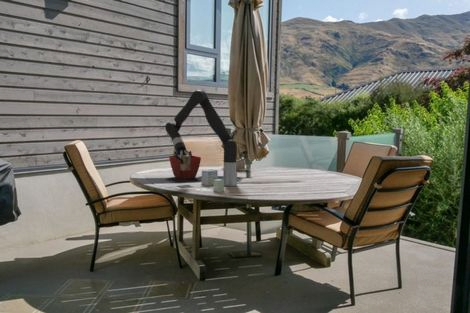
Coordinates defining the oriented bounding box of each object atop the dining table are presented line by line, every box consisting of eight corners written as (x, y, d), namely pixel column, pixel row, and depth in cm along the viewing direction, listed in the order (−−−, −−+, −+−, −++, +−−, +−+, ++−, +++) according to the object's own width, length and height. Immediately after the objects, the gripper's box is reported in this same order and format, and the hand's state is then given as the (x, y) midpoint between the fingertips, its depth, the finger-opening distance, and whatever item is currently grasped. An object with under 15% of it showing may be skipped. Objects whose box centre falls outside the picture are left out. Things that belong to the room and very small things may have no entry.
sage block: (218, 190, 292) (218, 178, 291) (223, 191, 289) (224, 179, 288) (213, 191, 288) (213, 179, 287) (218, 192, 285) (219, 180, 284)
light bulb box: (211, 183, 321) (211, 168, 320) (217, 184, 316) (218, 169, 315) (201, 184, 312) (201, 170, 311) (207, 186, 308) (208, 171, 307)
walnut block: (186, 169, 303) (186, 155, 302) (190, 170, 299) (190, 155, 298) (180, 169, 301) (180, 155, 299) (183, 170, 296) (183, 156, 295)
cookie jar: (249, 171, 387) (250, 135, 384) (222, 170, 387) (222, 135, 383) (248, 167, 412) (248, 134, 408) (222, 167, 411) (223, 133, 408)
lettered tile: (206, 188, 298) (206, 188, 297) (212, 190, 290) (212, 190, 290) (194, 189, 293) (194, 189, 293) (201, 192, 285) (201, 191, 285)
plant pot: (180, 180, 330) (180, 158, 328) (168, 176, 345) (168, 156, 343) (201, 178, 341) (201, 157, 339) (189, 175, 356) (189, 154, 355)
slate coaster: (187, 185, 307) (187, 184, 307) (193, 187, 300) (193, 186, 300) (176, 186, 302) (176, 185, 302) (182, 188, 295) (182, 187, 295)
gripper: (171, 141, 300) (178, 160, 291) (189, 141, 308) (197, 159, 299) (168, 148, 305) (175, 167, 296) (186, 148, 313) (193, 166, 304)
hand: (186, 163), depth 298 cm, fingers closed on walnut block, 5 cm apart
